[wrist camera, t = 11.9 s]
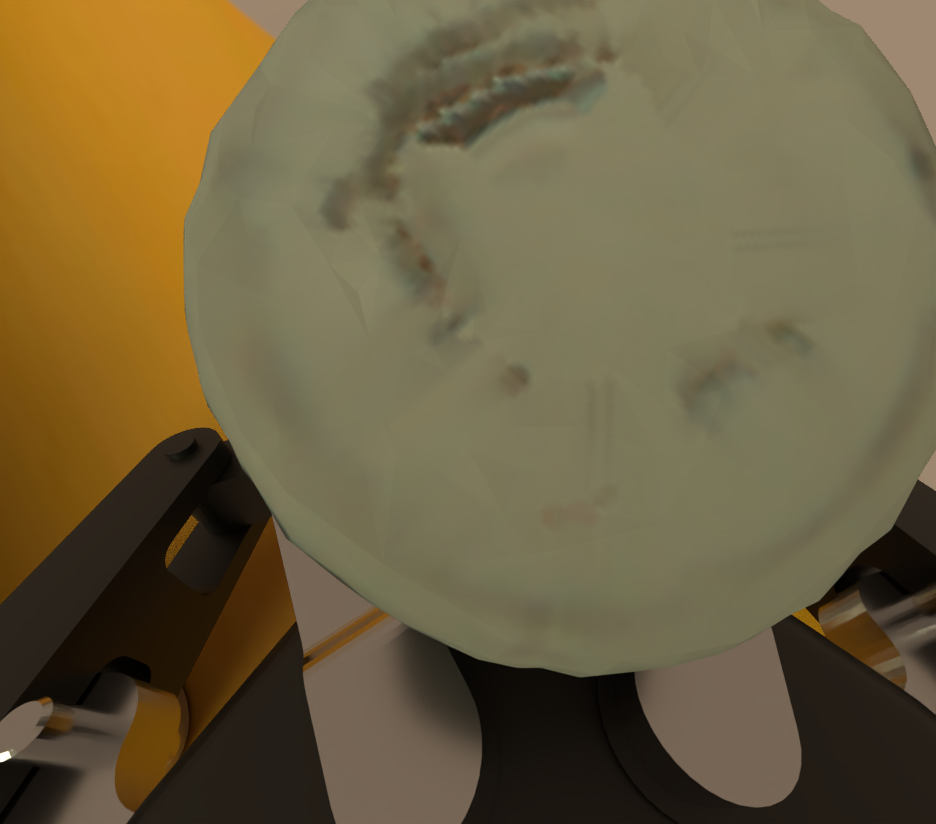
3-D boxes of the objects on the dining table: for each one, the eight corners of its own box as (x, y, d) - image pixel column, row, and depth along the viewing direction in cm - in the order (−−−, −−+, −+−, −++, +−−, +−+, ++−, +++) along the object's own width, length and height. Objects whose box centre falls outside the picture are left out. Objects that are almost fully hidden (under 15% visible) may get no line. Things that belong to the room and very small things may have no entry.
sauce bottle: (409, 365, 21) (-48, -514, 2) (508, 367, 22) (1096, -347, 2) (408, 470, 21) (-311, 1013, 1) (509, 470, 21) (1314, 881, 1)
